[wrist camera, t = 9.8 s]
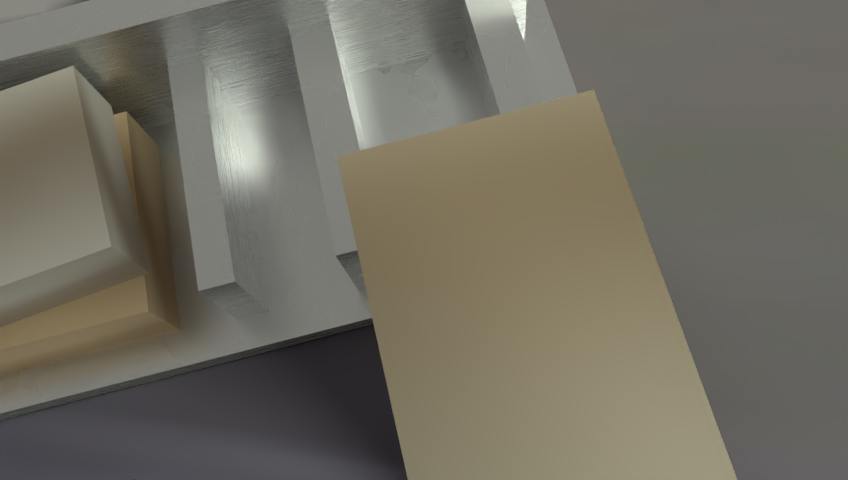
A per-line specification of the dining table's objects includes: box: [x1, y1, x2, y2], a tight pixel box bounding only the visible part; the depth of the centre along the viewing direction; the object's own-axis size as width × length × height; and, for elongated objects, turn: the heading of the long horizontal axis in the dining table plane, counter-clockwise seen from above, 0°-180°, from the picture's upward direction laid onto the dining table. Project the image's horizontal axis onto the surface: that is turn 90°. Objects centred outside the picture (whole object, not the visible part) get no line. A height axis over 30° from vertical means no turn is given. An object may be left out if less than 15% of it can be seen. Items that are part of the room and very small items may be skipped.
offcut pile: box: [0, 66, 181, 376], centre depth 18 cm, size 6×6×4 cm
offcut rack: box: [0, 0, 577, 420], centre depth 18 cm, size 8×18×5 cm, turn 103°
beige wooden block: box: [337, 90, 737, 480], centre depth 12 cm, size 4×2×12 cm, turn 13°
